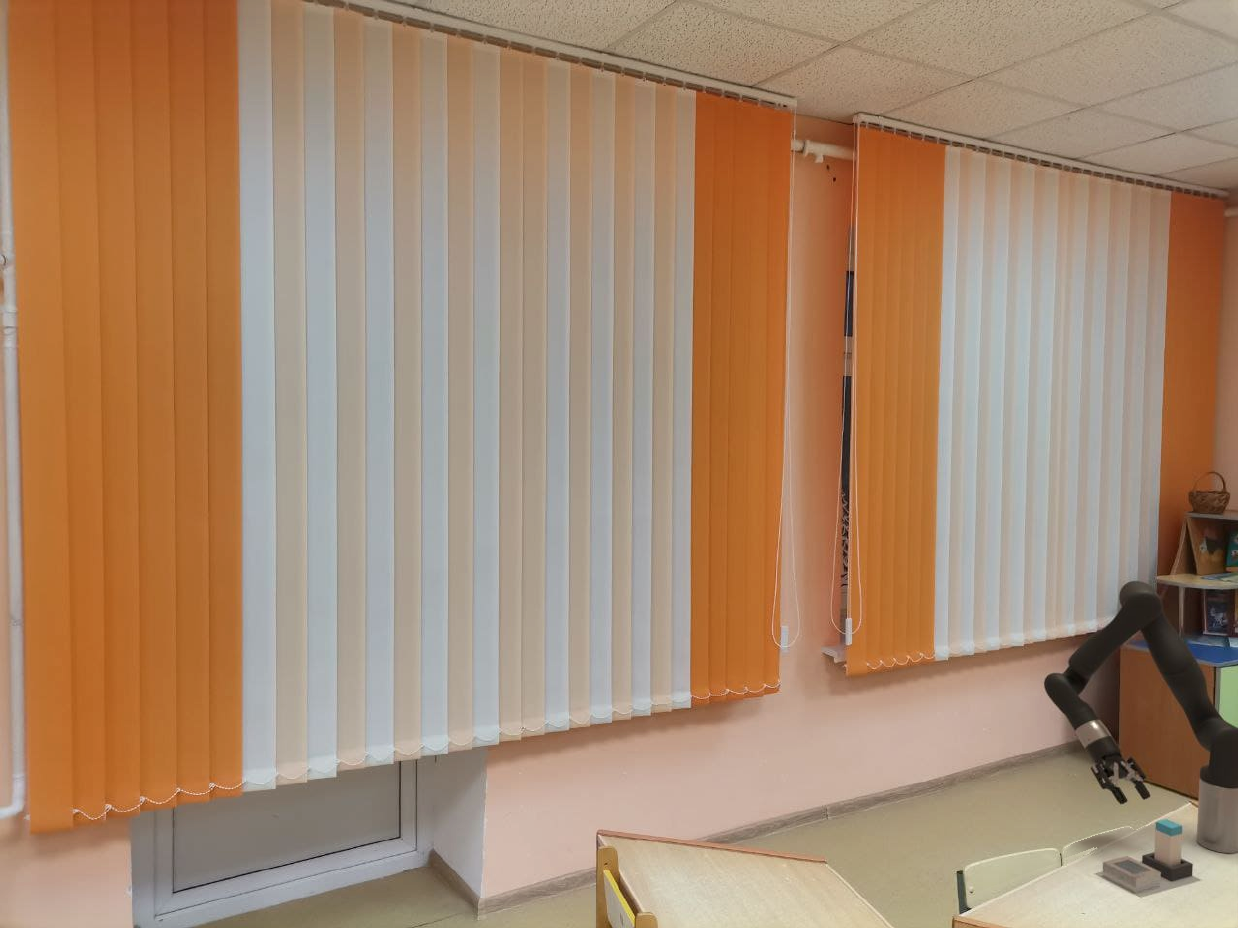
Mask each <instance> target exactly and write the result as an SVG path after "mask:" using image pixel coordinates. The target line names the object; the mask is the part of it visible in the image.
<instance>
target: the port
mask: <svg viewBox="0 0 1238 928" xmlns="http://www.w3.org/2000/svg"><path fill="white" fill-rule="evenodd" d="M1102 871H1103V875H1102V876H1103V877H1105V878H1107V879H1109V880H1111V881H1113V882H1115V883H1117V884H1118V885H1120V886H1122V887H1124V888H1126V889H1128V890H1130V891H1132V892H1134V893H1139V892H1142V891H1146V890H1149V889H1153V888H1157V887H1160V877H1161V872H1160V871H1157V870H1155V869H1153V868H1151V867H1149V866H1147V865H1145V864H1143V863H1141V862H1140V861H1138V860H1137V859H1134V858H1133V857H1131V856H1128V855H1125V856H1121V857H1117V858H1115V859H1114V858H1113V859H1110V860H1105V861H1103V862H1102Z"/></svg>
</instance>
